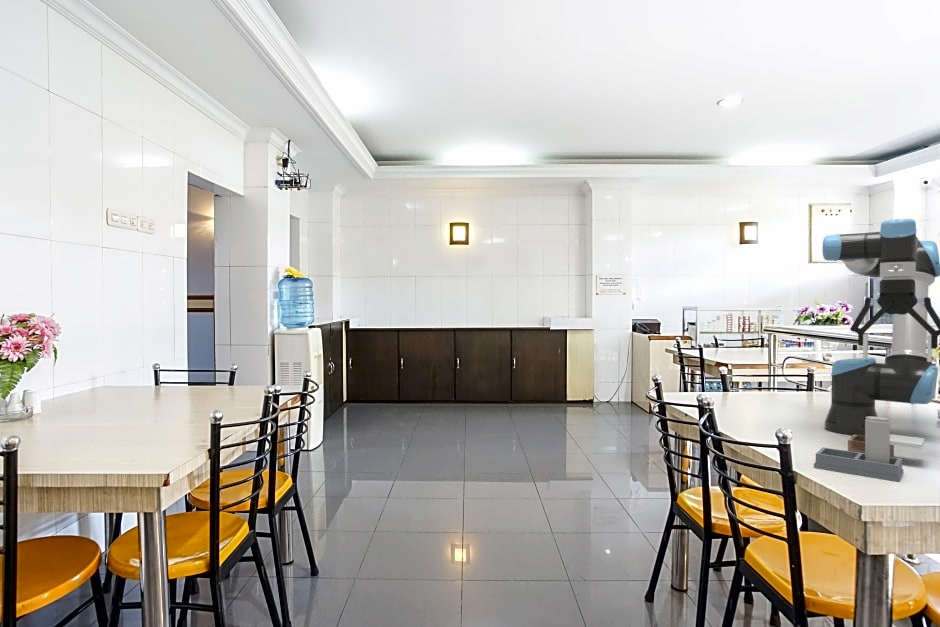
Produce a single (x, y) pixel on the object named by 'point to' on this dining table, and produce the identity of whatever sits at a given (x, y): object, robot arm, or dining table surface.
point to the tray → (862, 445)
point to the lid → (907, 441)
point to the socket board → (858, 464)
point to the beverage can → (877, 439)
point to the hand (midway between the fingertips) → (896, 359)
